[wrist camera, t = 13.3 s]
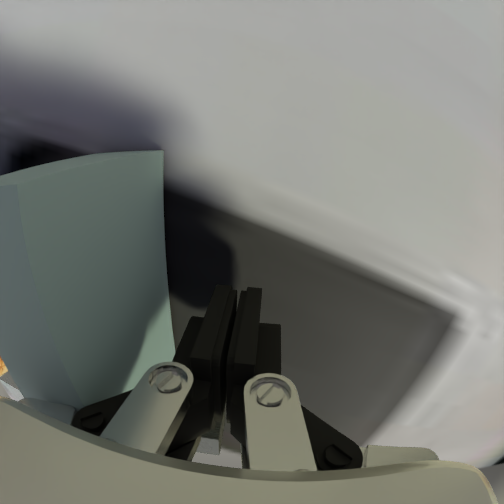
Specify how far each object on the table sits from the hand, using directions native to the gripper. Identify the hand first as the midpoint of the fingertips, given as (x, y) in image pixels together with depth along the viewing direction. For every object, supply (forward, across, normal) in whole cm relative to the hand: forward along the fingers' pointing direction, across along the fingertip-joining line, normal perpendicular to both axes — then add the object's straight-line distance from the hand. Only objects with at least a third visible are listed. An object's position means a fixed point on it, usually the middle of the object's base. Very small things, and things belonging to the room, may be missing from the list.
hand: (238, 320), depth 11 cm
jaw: (+1, +5, 0) cm, 5 cm away
